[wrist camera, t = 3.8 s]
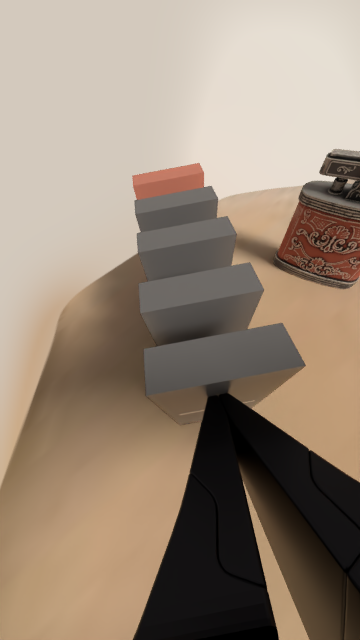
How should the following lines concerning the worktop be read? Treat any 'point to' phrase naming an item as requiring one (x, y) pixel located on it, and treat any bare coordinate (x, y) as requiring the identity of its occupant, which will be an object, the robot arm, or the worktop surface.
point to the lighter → (326, 226)
